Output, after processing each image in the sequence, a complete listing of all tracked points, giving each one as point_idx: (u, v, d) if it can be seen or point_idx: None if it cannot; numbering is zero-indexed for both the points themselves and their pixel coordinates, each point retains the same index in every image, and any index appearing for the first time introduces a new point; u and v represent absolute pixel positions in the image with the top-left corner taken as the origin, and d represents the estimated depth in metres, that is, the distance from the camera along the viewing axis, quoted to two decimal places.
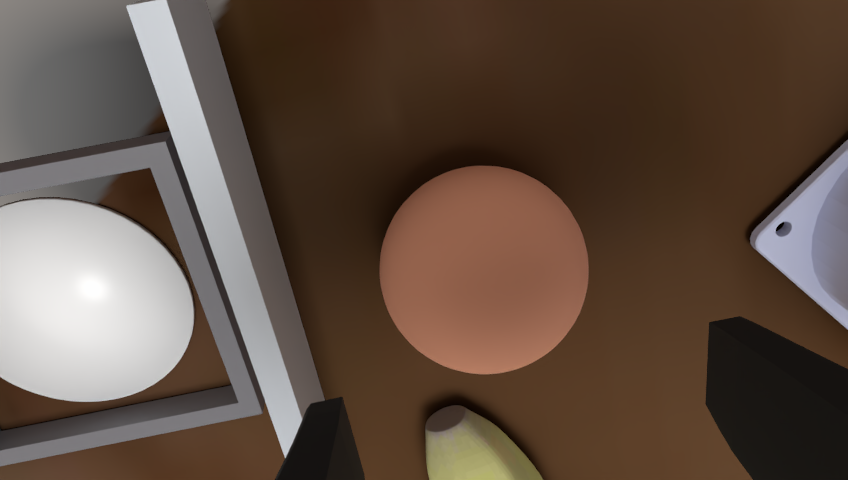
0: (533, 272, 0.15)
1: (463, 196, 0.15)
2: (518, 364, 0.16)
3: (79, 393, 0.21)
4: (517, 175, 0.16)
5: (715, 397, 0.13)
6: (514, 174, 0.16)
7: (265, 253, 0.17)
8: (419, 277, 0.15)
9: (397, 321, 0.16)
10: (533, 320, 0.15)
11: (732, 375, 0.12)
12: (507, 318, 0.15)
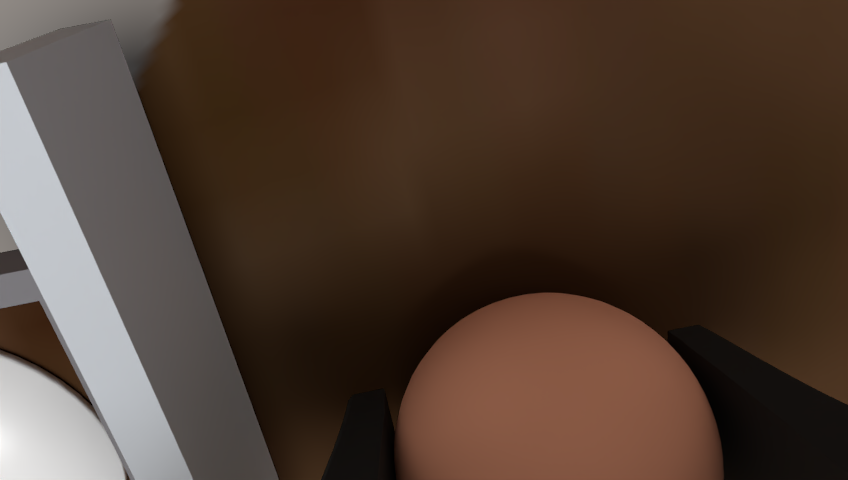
0: None
1: (532, 368, 0.09)
2: None
3: None
4: (612, 321, 0.10)
5: None
6: (608, 319, 0.10)
7: (219, 426, 0.11)
8: None
9: None
10: None
11: None
12: None
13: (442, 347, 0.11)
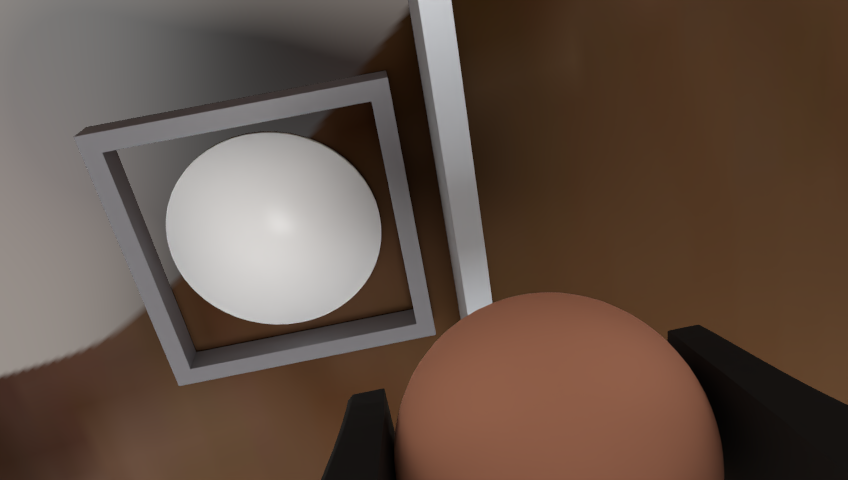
0: None
1: (533, 368, 0.09)
2: None
3: (271, 316, 0.23)
4: (612, 322, 0.10)
5: None
6: (608, 319, 0.10)
7: None
8: None
9: None
10: None
11: None
12: None
13: (442, 347, 0.11)
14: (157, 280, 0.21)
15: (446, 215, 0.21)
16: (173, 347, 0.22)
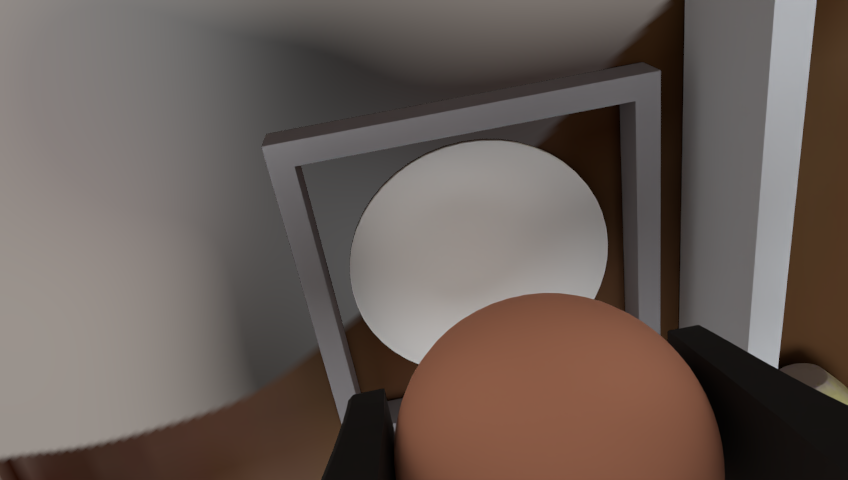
0: None
1: (534, 368, 0.09)
2: None
3: None
4: (613, 322, 0.10)
5: None
6: (609, 320, 0.10)
7: None
8: None
9: None
10: None
11: None
12: None
13: (442, 348, 0.11)
14: (338, 323, 0.17)
15: (706, 244, 0.16)
16: None
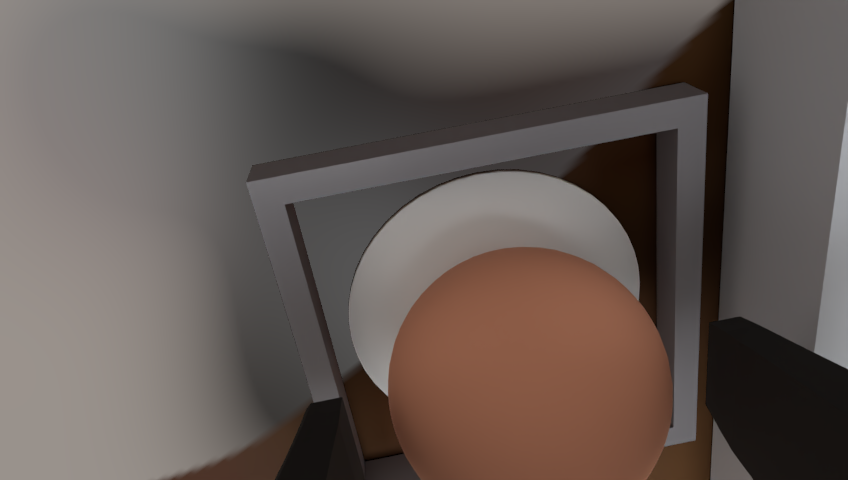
0: (609, 418, 0.10)
1: (506, 302, 0.11)
2: None
3: None
4: (577, 267, 0.12)
5: (715, 397, 0.13)
6: (573, 265, 0.12)
7: None
8: (446, 419, 0.11)
9: (413, 465, 0.12)
10: None
11: (732, 375, 0.12)
12: None
13: (430, 292, 0.12)
14: (335, 377, 0.15)
15: (754, 288, 0.14)
16: None
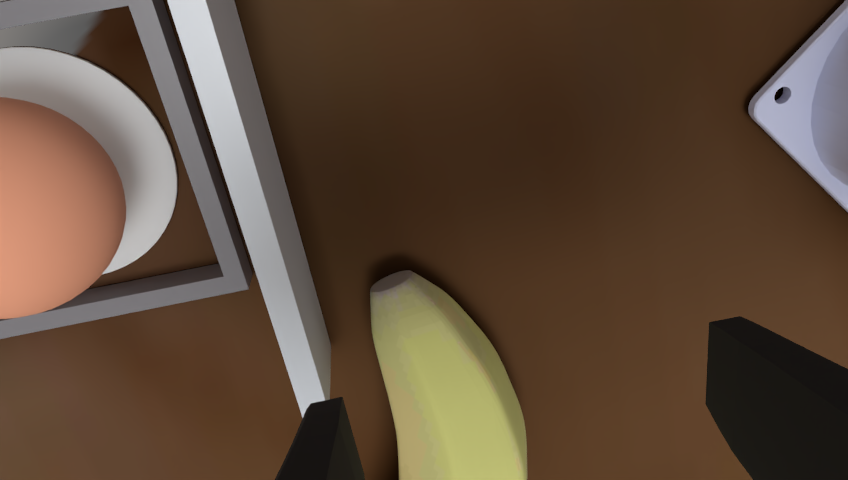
0: None
1: None
2: (5, 305, 0.15)
3: None
4: (6, 104, 0.15)
5: (715, 397, 0.13)
6: (5, 103, 0.15)
7: (248, 98, 0.17)
8: None
9: None
10: None
11: (732, 375, 0.12)
12: None
13: None
14: None
15: None
16: None
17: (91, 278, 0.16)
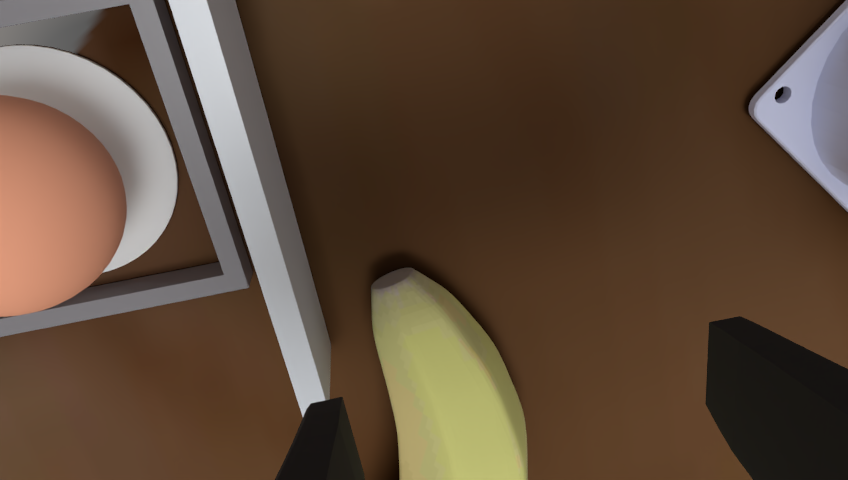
0: None
1: None
2: (5, 303, 0.15)
3: None
4: (8, 102, 0.15)
5: (715, 397, 0.13)
6: (6, 101, 0.15)
7: (249, 97, 0.17)
8: None
9: None
10: None
11: (732, 375, 0.12)
12: None
13: None
14: None
15: None
16: None
17: (92, 276, 0.16)
